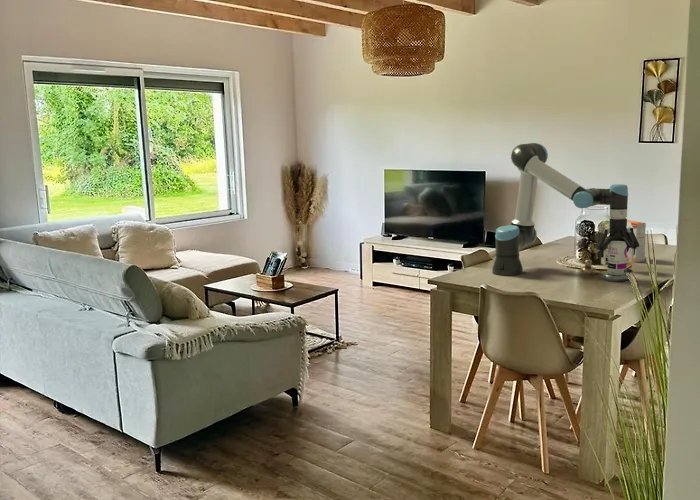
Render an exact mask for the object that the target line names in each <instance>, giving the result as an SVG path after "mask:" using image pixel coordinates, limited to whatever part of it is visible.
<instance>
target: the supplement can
mask: <svg viewBox="0 0 700 500" xmlns="http://www.w3.org/2000/svg"><path fill="white" fill-rule="evenodd" d="M627 262H628V261H627V245H626V243H625V242H624V241H611V242H610V243H609V245H608V246H607V267H606V268H607V270H606V272H608V273H609V274H611V275H624V274H625V273H626V268H627Z"/></svg>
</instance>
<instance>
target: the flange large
mask: <svg viewBox="0 0 700 500" xmlns="http://www.w3.org/2000/svg"><path fill="white" fill-rule="evenodd" d="M626 273H628V272H626ZM626 273H625V274H624V275H611V274H609V273H608V272H607V271H605V272H603V273H602V280H603V281H606V282H612V283H626V282H625V281H628V282H630V281H629V279H628V276H627V275H626ZM629 274H631V272H629Z"/></svg>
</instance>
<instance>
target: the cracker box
mask: <svg viewBox="0 0 700 500" xmlns="http://www.w3.org/2000/svg"><path fill="white" fill-rule="evenodd" d="M629 227H631V228H633V231H634V234H635V237H636V239H637V241H638V243H639V245H640V246H639V247H637V248H636V249H635V255H633V263H636V264H638V263H643V262H645V258H646V256H645V255H646V227H647V225H646V222H642V221H637V220H632V219H627V228H629ZM627 262H629V251H628V252H627Z"/></svg>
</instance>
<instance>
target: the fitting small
mask: <svg viewBox="0 0 700 500" xmlns="http://www.w3.org/2000/svg"><path fill="white" fill-rule="evenodd" d="M592 264H593V263H592V259H585V260H584V266H582V267H580V274H581V275H585V276H586V275H588V276H591V275H596V274H597V273H596V272H597V268H596V267H594V266H592Z"/></svg>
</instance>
